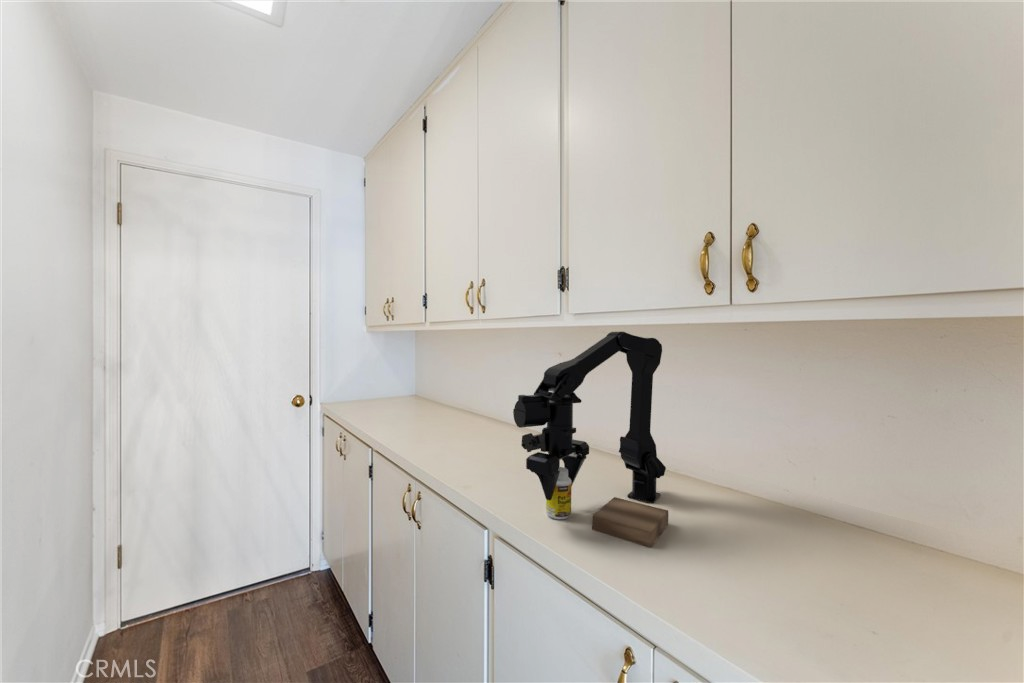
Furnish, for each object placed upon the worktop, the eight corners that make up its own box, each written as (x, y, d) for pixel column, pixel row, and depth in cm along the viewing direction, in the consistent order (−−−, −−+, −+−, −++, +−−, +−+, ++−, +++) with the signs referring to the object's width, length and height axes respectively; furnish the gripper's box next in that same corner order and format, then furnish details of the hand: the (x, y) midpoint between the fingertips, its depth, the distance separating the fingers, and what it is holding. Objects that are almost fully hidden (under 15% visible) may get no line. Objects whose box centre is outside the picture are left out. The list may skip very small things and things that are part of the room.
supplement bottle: (556, 522, 87) (557, 475, 87) (541, 513, 92) (541, 468, 92) (576, 516, 90) (576, 470, 90) (560, 507, 95) (560, 464, 95)
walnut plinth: (614, 510, 94) (614, 497, 94) (668, 524, 87) (668, 510, 87) (592, 529, 84) (592, 515, 84) (650, 547, 77) (650, 532, 77)
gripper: (549, 413, 103) (549, 474, 103) (505, 425, 88) (505, 497, 88) (590, 418, 96) (589, 484, 97) (550, 433, 81) (549, 511, 81)
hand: (559, 493), depth 91 cm, fingers open, 9 cm apart
